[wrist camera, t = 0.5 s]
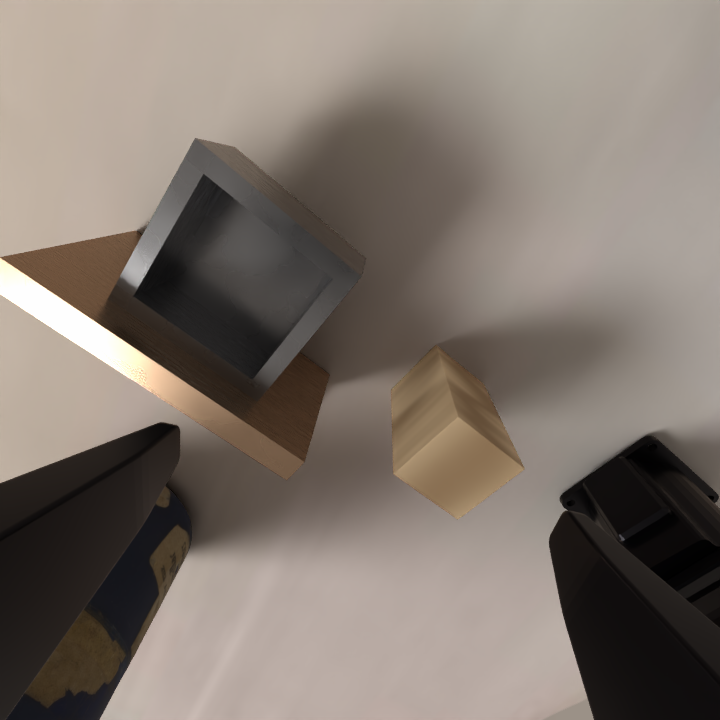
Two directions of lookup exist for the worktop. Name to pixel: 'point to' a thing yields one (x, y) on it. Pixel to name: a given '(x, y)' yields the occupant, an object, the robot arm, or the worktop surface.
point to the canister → (111, 622)
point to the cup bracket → (206, 302)
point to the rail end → (449, 435)
